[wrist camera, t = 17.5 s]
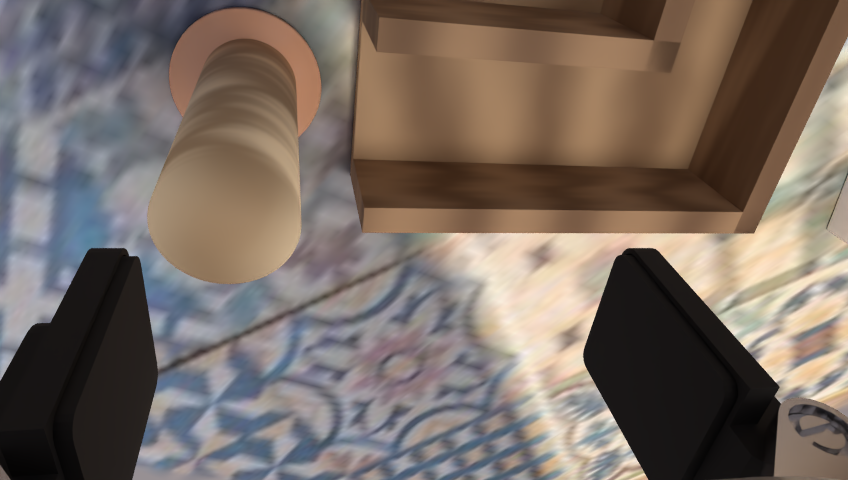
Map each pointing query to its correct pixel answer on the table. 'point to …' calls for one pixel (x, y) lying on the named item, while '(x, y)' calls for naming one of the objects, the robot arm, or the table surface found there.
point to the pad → (245, 26)
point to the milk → (840, 216)
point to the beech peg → (232, 170)
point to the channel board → (583, 112)
